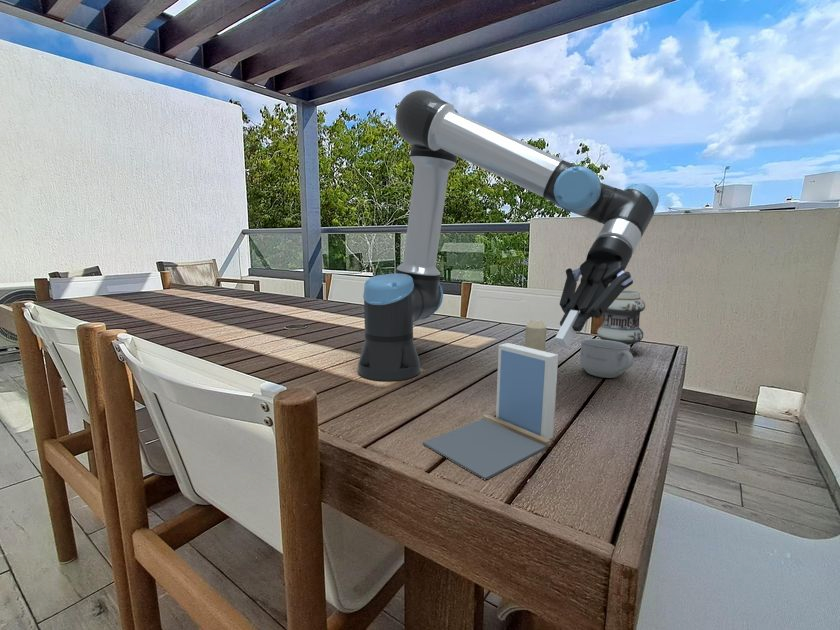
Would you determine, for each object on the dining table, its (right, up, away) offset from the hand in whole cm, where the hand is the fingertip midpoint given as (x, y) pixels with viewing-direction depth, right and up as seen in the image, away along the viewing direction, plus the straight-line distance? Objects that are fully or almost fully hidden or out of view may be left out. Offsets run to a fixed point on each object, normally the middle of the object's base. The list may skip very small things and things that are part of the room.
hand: (561, 342), depth 75 cm
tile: (-8, -14, -4) cm, 17 cm away
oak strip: (-10, -15, -5) cm, 18 cm away
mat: (-15, -15, -10) cm, 24 cm away
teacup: (+19, -10, +25) cm, 33 cm away
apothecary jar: (+32, -6, +46) cm, 56 cm away
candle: (+6, -7, +41) cm, 43 cm away
